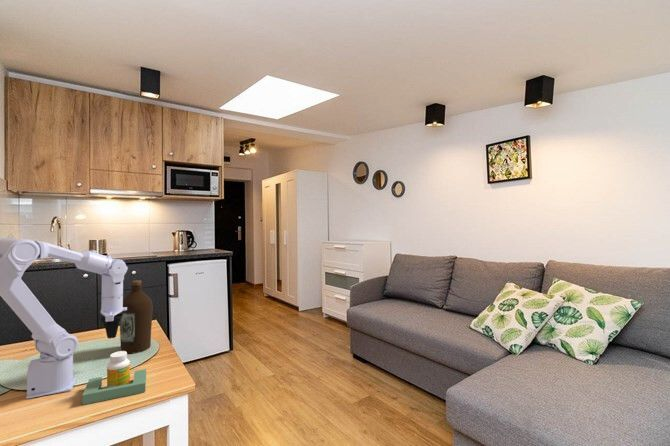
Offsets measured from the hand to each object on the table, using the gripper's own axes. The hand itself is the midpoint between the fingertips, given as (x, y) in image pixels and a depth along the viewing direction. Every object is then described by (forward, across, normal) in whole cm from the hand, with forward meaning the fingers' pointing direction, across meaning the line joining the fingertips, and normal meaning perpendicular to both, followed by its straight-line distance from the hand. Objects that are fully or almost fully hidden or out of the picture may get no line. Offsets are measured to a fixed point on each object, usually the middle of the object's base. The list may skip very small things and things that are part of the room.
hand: (111, 337), depth 105 cm
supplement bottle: (+10, -16, -3) cm, 19 cm away
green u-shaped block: (+9, -17, -3) cm, 20 cm away
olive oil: (+10, +13, -6) cm, 17 cm away
